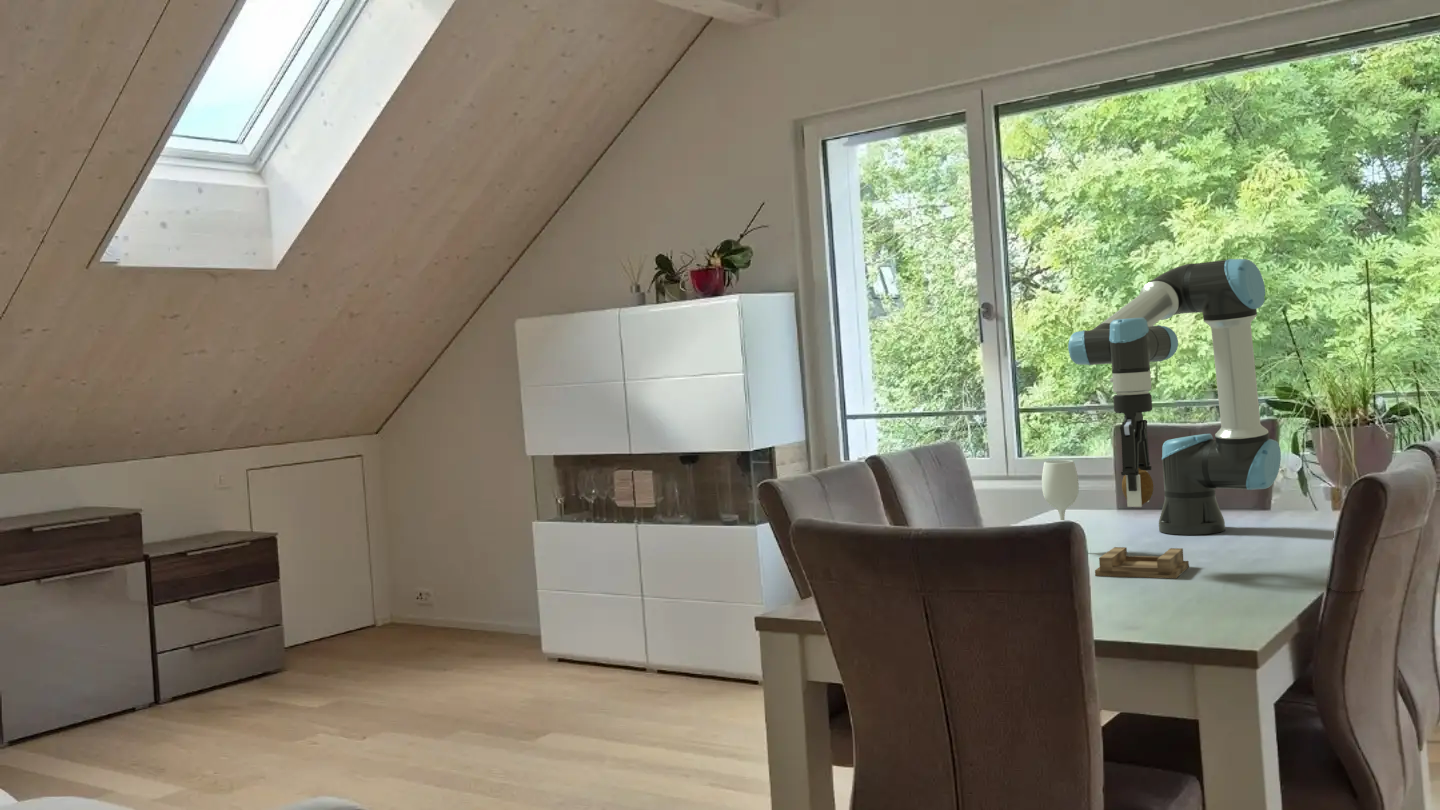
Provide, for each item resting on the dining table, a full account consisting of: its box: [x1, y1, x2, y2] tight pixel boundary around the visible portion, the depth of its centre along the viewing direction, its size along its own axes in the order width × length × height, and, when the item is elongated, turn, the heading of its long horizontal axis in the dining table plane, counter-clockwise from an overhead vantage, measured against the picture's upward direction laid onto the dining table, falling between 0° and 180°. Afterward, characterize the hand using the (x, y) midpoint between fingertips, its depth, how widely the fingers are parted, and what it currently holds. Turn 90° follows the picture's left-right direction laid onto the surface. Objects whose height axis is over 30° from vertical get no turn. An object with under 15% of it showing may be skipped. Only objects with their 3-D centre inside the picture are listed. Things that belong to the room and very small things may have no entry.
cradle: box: [1094, 546, 1190, 579], centre depth 259 cm, size 13×16×4 cm
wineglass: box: [1041, 459, 1080, 521], centre depth 288 cm, size 9×9×21 cm
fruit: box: [1121, 468, 1154, 506], centre depth 258 cm, size 6×6×8 cm
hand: (1138, 504), depth 258 cm, fingers closed on fruit, 6 cm apart
